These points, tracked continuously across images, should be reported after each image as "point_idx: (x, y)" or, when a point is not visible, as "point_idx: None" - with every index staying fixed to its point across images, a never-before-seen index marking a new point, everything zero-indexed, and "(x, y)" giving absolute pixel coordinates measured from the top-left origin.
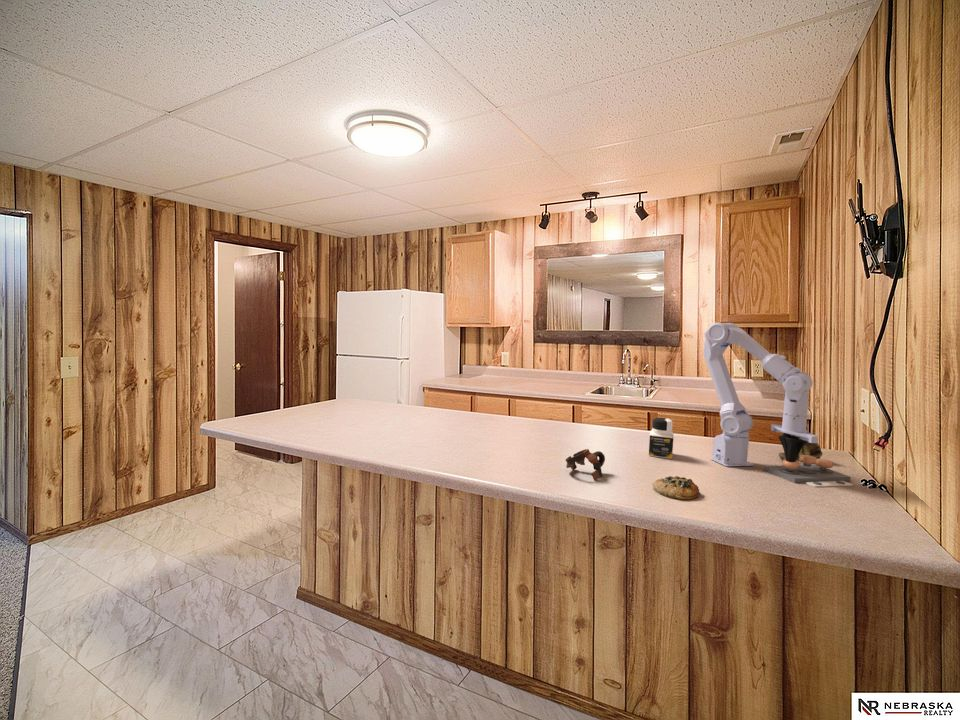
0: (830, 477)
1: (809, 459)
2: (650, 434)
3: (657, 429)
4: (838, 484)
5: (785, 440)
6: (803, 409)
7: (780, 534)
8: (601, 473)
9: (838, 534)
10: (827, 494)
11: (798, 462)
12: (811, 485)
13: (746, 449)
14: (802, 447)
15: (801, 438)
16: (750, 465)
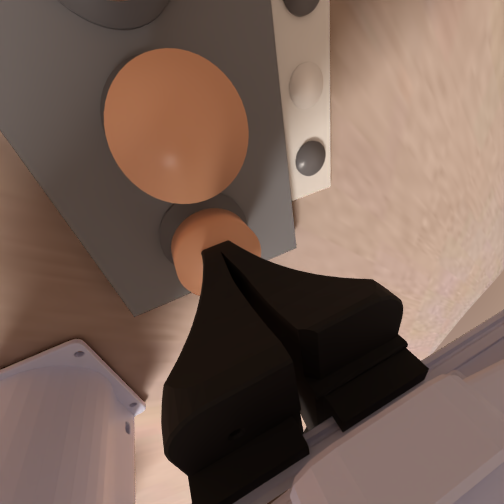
0: (273, 28)
1: (243, 156)
2: None
3: None
4: (322, 35)
5: (306, 421)
6: None
7: (454, 323)
8: (279, 495)
9: (487, 262)
10: (384, 179)
11: (236, 225)
12: (315, 190)
13: (79, 447)
14: (308, 273)
15: (430, 376)
16: (91, 350)
